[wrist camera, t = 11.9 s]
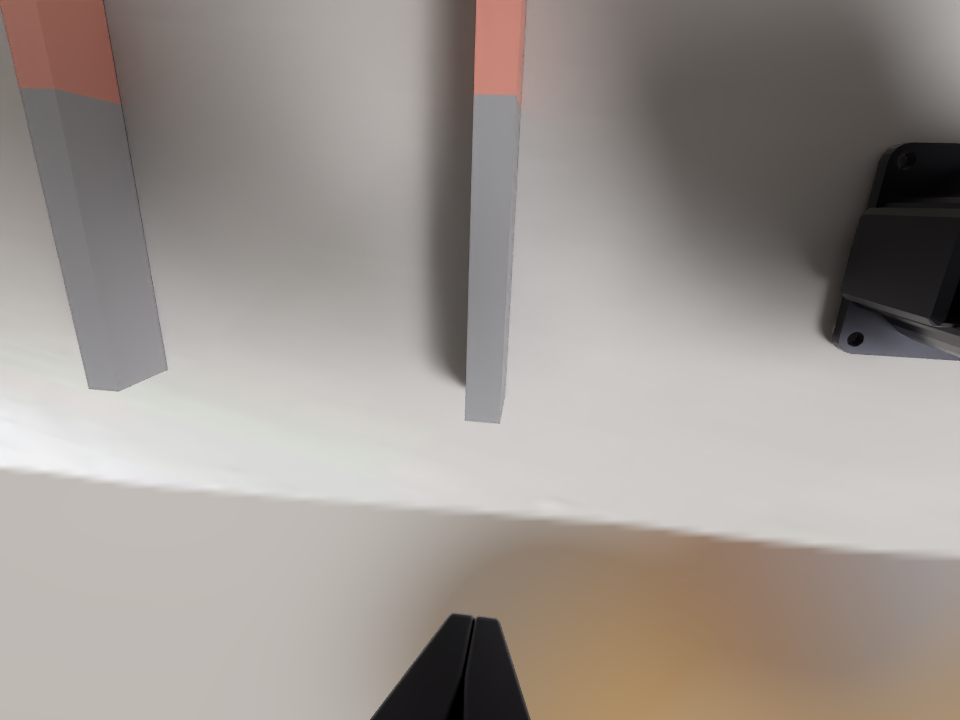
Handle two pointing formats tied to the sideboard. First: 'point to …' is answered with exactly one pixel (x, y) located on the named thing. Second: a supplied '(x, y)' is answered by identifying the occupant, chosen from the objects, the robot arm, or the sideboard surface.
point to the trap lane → (116, 216)
